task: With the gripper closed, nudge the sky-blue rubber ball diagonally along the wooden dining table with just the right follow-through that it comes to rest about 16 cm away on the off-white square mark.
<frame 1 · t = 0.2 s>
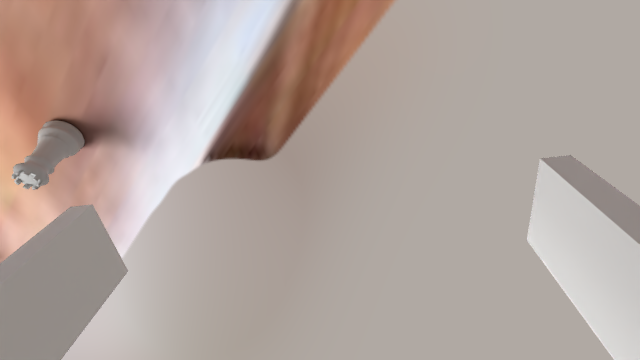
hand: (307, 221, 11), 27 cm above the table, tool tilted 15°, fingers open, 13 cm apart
rook chess piece: (66, 132, 42), on the table
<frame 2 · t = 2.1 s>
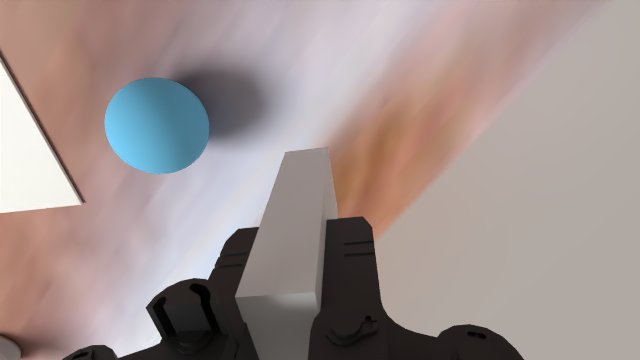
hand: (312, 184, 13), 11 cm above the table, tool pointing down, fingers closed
rook chess piece: (3, 344, 37), on the table
ball: (160, 126, 21), on the table
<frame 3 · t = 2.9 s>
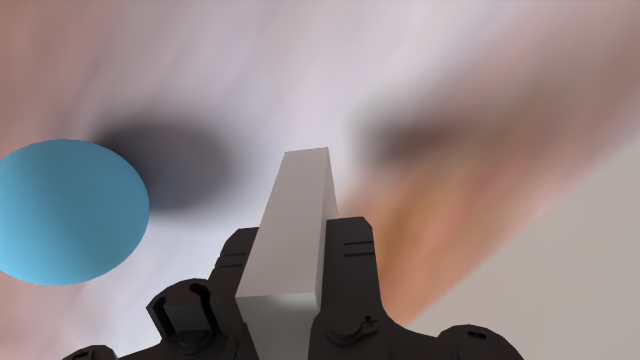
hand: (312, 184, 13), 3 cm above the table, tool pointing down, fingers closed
ball: (70, 211, 14), on the table
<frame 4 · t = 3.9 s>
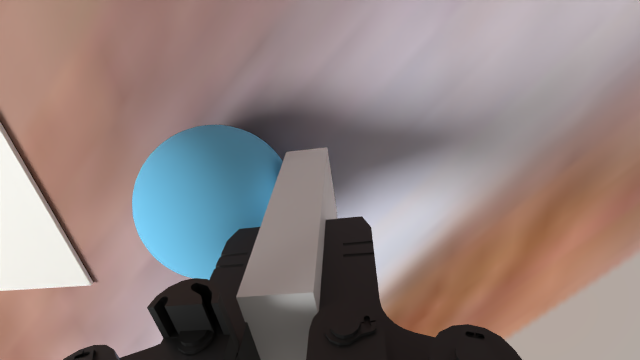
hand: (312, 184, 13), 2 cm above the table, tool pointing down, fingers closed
ball: (218, 201, 13), on the table, touching gripper
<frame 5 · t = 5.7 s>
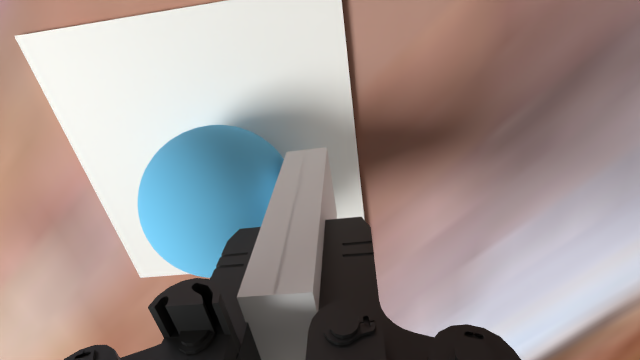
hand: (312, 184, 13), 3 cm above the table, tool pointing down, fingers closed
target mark: (218, 162, 15), on the table
ball: (221, 200, 13), on the table, touching gripper
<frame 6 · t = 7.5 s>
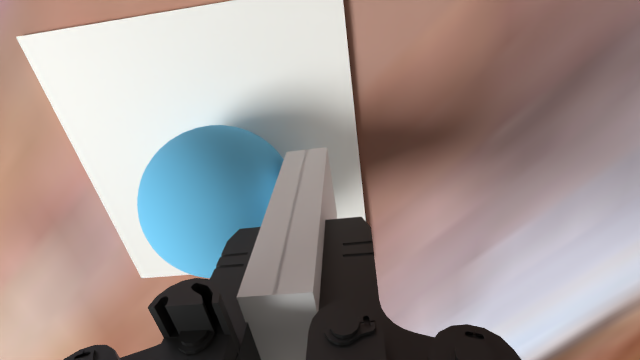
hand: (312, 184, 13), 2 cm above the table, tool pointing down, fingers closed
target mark: (219, 162, 15), on the table
ball: (221, 200, 13), on the table, touching gripper
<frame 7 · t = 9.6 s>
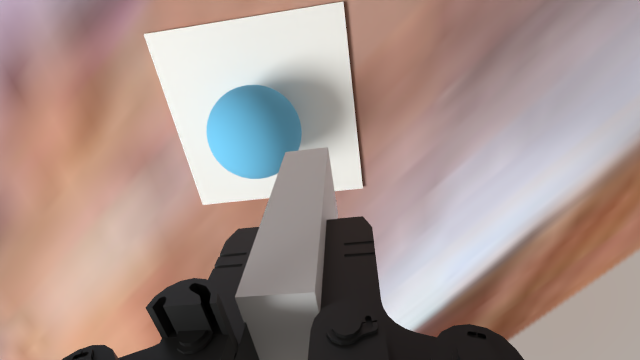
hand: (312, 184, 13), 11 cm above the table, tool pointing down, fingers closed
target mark: (263, 117, 23), on the table
ball: (255, 132, 21), on the table
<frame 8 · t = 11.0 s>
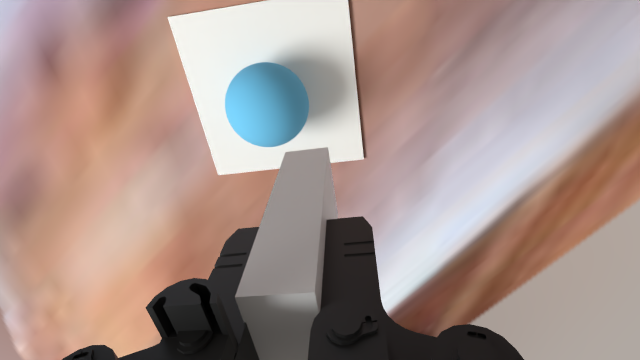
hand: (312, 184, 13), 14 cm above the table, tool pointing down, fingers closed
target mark: (274, 93, 26), on the table
ball: (267, 105, 23), on the table
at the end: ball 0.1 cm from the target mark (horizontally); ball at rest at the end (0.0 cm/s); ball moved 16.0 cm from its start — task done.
